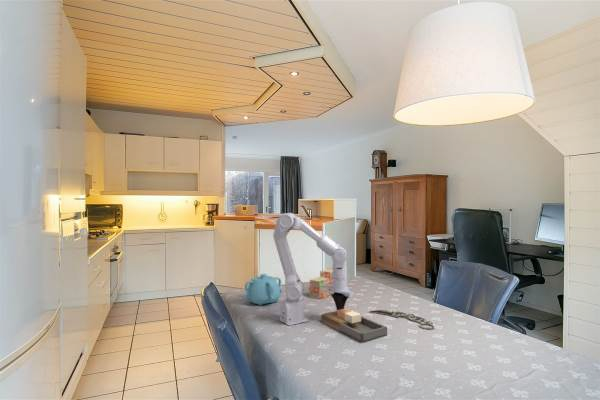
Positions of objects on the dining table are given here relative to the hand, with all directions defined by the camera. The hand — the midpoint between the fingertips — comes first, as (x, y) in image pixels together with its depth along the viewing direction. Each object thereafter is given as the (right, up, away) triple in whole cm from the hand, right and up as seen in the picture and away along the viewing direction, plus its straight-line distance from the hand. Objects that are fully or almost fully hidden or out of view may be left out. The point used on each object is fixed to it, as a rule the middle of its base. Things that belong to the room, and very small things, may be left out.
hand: (340, 311), depth 132 cm
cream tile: (+4, -1, -7) cm, 8 cm away
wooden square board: (+1, -4, -1) cm, 4 cm away
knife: (+26, -5, +4) cm, 27 cm away
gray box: (+7, -4, -12) cm, 14 cm away
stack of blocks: (-2, -5, +42) cm, 42 cm away
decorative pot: (-34, -5, +29) cm, 45 cm away
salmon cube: (+2, -1, -3) cm, 3 cm away
